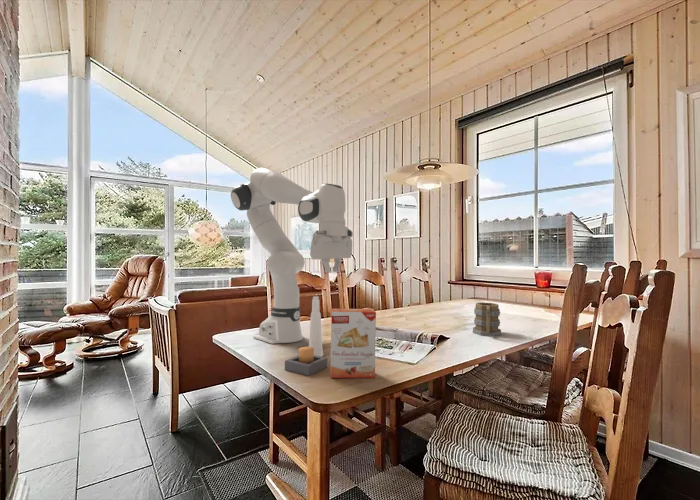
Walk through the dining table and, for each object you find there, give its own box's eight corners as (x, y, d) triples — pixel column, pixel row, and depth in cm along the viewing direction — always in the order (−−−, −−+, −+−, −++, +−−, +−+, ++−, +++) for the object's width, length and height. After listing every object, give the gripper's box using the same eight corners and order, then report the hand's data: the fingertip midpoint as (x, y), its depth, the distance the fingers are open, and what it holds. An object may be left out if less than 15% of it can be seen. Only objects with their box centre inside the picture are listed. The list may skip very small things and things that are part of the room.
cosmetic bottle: (315, 352, 137) (316, 295, 137) (326, 355, 133) (327, 296, 133) (303, 355, 133) (304, 296, 133) (315, 358, 129) (315, 298, 129)
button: (295, 361, 118) (295, 349, 118) (305, 357, 122) (305, 345, 122) (307, 364, 115) (307, 351, 115) (316, 360, 120) (316, 348, 120)
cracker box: (330, 379, 109) (330, 311, 109) (330, 372, 115) (330, 307, 115) (375, 378, 110) (376, 311, 110) (373, 371, 116) (373, 307, 116)
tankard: (473, 329, 179) (473, 299, 179) (500, 331, 174) (501, 300, 174) (471, 338, 161) (471, 305, 161) (501, 341, 156) (502, 307, 156)
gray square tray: (284, 369, 117) (284, 360, 117) (303, 361, 126) (304, 353, 126) (308, 375, 112) (308, 366, 112) (327, 366, 120) (327, 357, 120)
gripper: (321, 229, 110) (321, 274, 110) (355, 232, 127) (355, 271, 127) (305, 230, 113) (305, 273, 113) (340, 232, 131) (340, 270, 131)
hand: (332, 272), depth 121 cm, fingers open, 3 cm apart
